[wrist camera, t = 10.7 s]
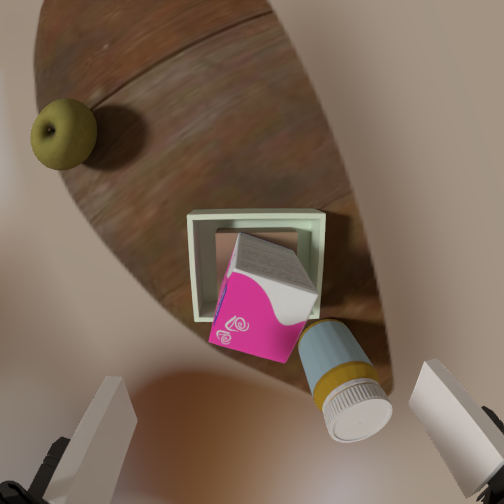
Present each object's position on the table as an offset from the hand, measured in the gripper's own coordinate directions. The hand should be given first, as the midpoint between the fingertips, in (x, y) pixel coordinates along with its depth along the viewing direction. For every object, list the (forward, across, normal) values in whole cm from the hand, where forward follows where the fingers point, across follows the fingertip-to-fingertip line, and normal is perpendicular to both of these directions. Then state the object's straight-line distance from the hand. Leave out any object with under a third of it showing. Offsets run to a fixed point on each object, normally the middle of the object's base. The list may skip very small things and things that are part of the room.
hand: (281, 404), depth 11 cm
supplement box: (+19, 0, 0) cm, 19 cm away
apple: (+23, -20, +15) cm, 34 cm away
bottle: (+23, +9, -11) cm, 27 cm away
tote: (+22, 0, 0) cm, 22 cm away
